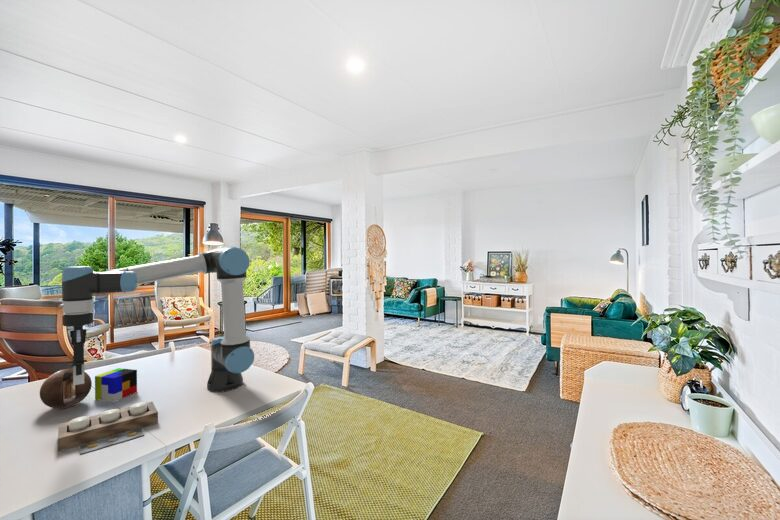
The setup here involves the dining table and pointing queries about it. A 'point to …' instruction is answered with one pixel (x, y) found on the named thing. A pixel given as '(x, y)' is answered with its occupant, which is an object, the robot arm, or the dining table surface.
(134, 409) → the right button
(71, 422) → the left button
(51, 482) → the dining table surface
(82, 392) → the wooden sphere
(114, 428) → the button board
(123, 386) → the puzzle toy
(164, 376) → the dining table surface
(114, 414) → the middle button
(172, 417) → the dining table surface
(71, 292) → the robot arm
